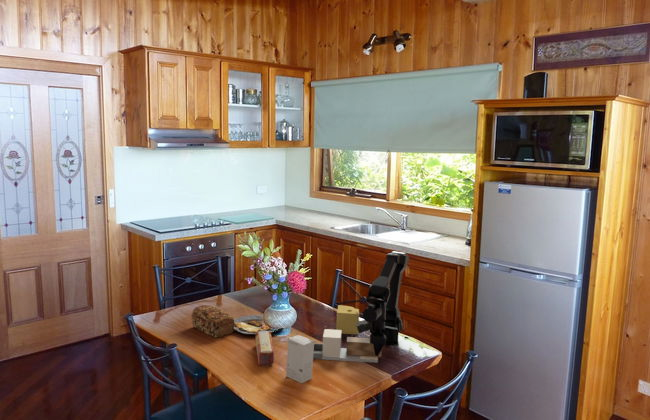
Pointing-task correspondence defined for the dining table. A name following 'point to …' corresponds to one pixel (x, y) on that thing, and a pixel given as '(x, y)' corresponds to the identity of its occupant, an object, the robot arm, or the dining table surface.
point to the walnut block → (360, 347)
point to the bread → (212, 321)
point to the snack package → (264, 348)
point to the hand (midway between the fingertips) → (376, 352)
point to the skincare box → (300, 358)
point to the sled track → (336, 349)
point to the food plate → (248, 329)
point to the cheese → (347, 319)
